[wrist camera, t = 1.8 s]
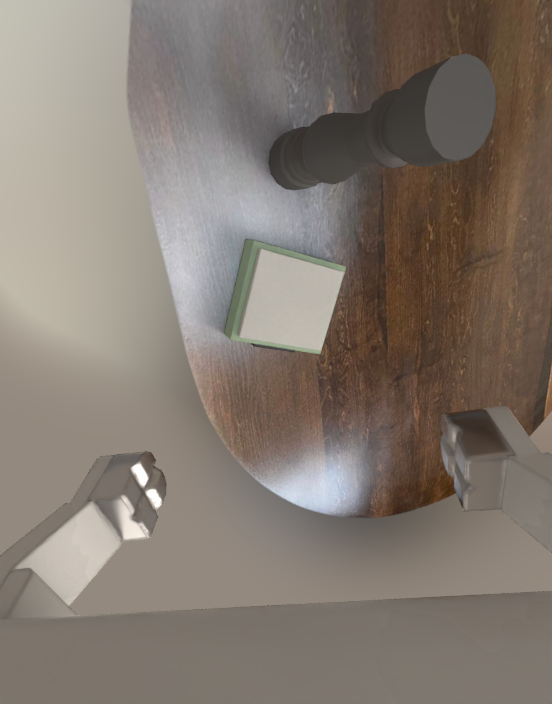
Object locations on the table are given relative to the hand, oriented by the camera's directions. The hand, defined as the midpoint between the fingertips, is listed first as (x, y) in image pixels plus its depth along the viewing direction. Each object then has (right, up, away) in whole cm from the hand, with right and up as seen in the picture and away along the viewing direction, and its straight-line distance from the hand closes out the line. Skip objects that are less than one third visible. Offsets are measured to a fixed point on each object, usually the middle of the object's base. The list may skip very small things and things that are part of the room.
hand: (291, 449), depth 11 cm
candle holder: (+2, +25, +35) cm, 43 cm away
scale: (0, +10, +39) cm, 41 cm away
